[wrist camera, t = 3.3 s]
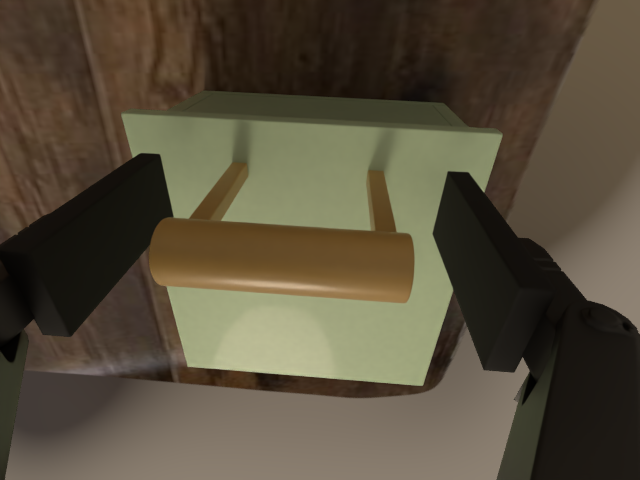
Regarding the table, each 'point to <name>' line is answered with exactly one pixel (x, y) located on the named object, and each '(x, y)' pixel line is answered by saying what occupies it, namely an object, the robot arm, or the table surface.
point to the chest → (321, 108)
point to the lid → (306, 239)
